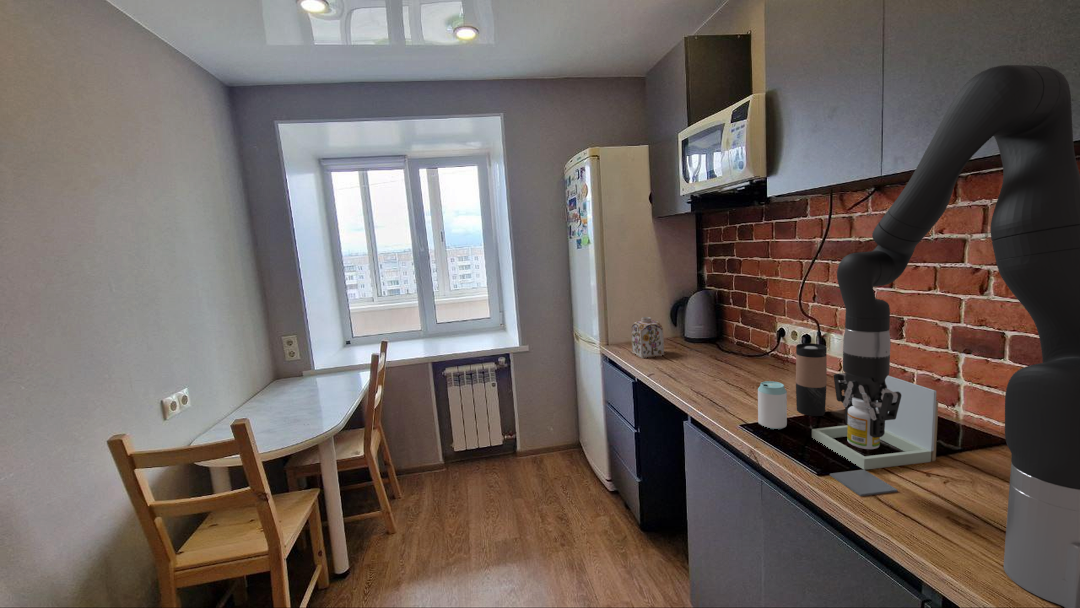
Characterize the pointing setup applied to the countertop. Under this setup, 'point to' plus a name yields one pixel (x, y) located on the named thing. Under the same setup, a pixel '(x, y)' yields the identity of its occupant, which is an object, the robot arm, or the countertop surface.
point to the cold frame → (896, 430)
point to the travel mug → (811, 378)
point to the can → (772, 405)
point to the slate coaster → (863, 482)
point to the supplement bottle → (860, 426)
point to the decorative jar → (647, 338)
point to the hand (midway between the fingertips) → (863, 429)
